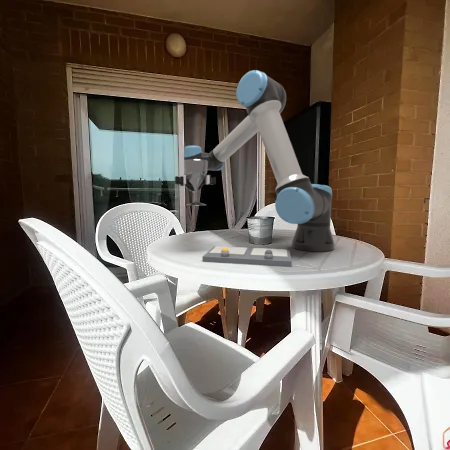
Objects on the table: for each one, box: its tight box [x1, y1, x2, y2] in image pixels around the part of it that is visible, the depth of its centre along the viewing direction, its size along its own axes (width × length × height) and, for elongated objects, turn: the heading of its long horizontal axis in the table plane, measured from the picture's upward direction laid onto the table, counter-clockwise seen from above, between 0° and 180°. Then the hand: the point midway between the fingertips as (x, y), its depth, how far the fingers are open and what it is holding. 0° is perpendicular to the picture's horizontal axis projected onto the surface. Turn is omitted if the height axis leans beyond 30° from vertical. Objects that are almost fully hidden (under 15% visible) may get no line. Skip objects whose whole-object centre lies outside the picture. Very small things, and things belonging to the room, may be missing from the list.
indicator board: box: [201, 245, 293, 268], centre depth 85 cm, size 26×15×4 cm, turn 79°
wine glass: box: [183, 159, 208, 207], centre depth 92 cm, size 8×8×15 cm
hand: (196, 179), depth 87 cm, fingers closed on wine glass, 7 cm apart
